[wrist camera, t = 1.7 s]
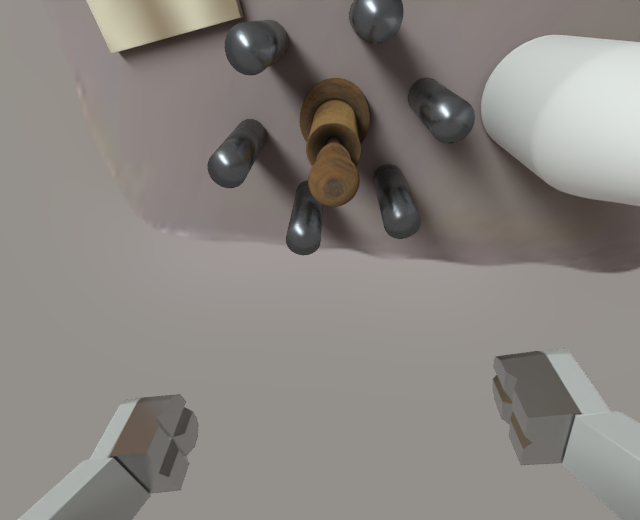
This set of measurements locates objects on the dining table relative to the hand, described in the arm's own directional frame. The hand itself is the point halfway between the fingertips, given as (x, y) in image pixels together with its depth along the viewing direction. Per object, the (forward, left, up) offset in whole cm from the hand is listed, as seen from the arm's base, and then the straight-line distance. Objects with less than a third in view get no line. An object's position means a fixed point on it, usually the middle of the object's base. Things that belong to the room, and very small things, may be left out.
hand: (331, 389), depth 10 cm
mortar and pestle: (0, 0, -31) cm, 31 cm away
